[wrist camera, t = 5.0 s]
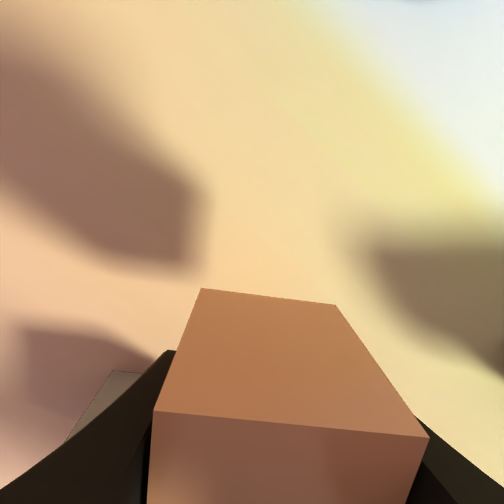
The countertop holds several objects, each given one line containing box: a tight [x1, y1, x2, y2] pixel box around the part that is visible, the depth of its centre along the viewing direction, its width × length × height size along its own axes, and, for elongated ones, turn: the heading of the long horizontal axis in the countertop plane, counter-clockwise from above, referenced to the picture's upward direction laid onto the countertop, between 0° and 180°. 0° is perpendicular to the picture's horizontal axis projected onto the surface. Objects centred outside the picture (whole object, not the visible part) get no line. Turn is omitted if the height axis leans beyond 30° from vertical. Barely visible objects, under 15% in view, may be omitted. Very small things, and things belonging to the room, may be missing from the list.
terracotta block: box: [147, 288, 430, 504], centre depth 8 cm, size 4×4×5 cm
